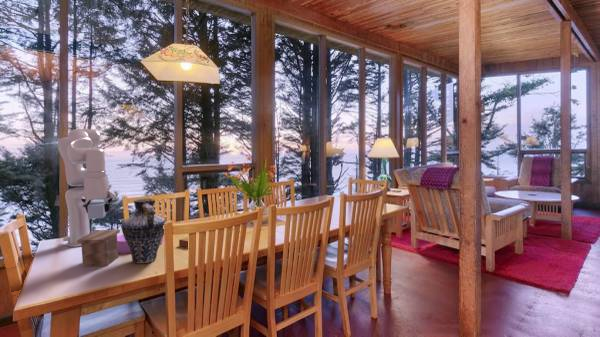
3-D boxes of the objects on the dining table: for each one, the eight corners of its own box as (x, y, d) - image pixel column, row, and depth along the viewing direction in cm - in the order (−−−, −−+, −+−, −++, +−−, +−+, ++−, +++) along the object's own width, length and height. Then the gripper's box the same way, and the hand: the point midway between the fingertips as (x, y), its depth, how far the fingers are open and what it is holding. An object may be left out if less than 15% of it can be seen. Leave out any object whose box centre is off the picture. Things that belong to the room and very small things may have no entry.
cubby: (79, 269, 152) (77, 240, 151) (98, 256, 169) (96, 230, 168) (104, 268, 153) (102, 239, 152) (120, 255, 170) (119, 229, 169)
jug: (116, 261, 162) (113, 199, 159) (155, 250, 177) (153, 194, 174) (135, 271, 149) (132, 205, 146) (176, 259, 164) (174, 199, 161)
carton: (178, 246, 185) (178, 239, 184) (200, 239, 199) (200, 232, 198) (189, 249, 181) (189, 241, 180) (211, 241, 195) (210, 234, 194)
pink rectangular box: (117, 255, 170) (116, 230, 169) (111, 248, 182) (110, 224, 181) (167, 245, 186) (167, 222, 185) (159, 239, 198) (158, 217, 197)
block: (93, 211, 166) (93, 199, 166) (107, 210, 169) (107, 198, 168) (88, 219, 150) (87, 206, 149) (103, 217, 152) (103, 204, 152)
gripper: (72, 176, 153) (74, 214, 154) (111, 175, 154) (113, 213, 156) (81, 174, 160) (83, 210, 162) (119, 174, 162) (121, 210, 163)
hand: (98, 211), depth 159 cm, fingers closed on block, 7 cm apart
